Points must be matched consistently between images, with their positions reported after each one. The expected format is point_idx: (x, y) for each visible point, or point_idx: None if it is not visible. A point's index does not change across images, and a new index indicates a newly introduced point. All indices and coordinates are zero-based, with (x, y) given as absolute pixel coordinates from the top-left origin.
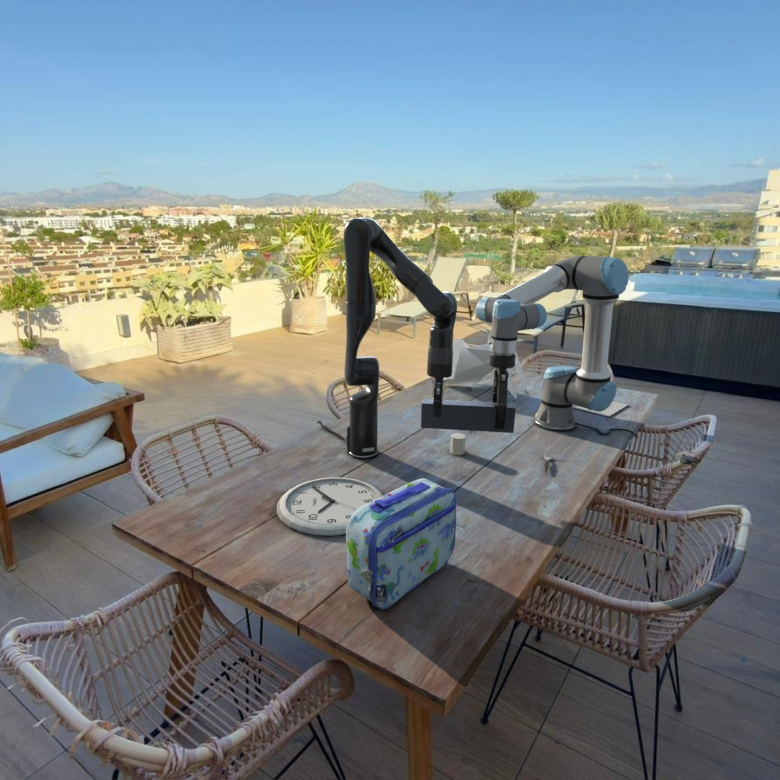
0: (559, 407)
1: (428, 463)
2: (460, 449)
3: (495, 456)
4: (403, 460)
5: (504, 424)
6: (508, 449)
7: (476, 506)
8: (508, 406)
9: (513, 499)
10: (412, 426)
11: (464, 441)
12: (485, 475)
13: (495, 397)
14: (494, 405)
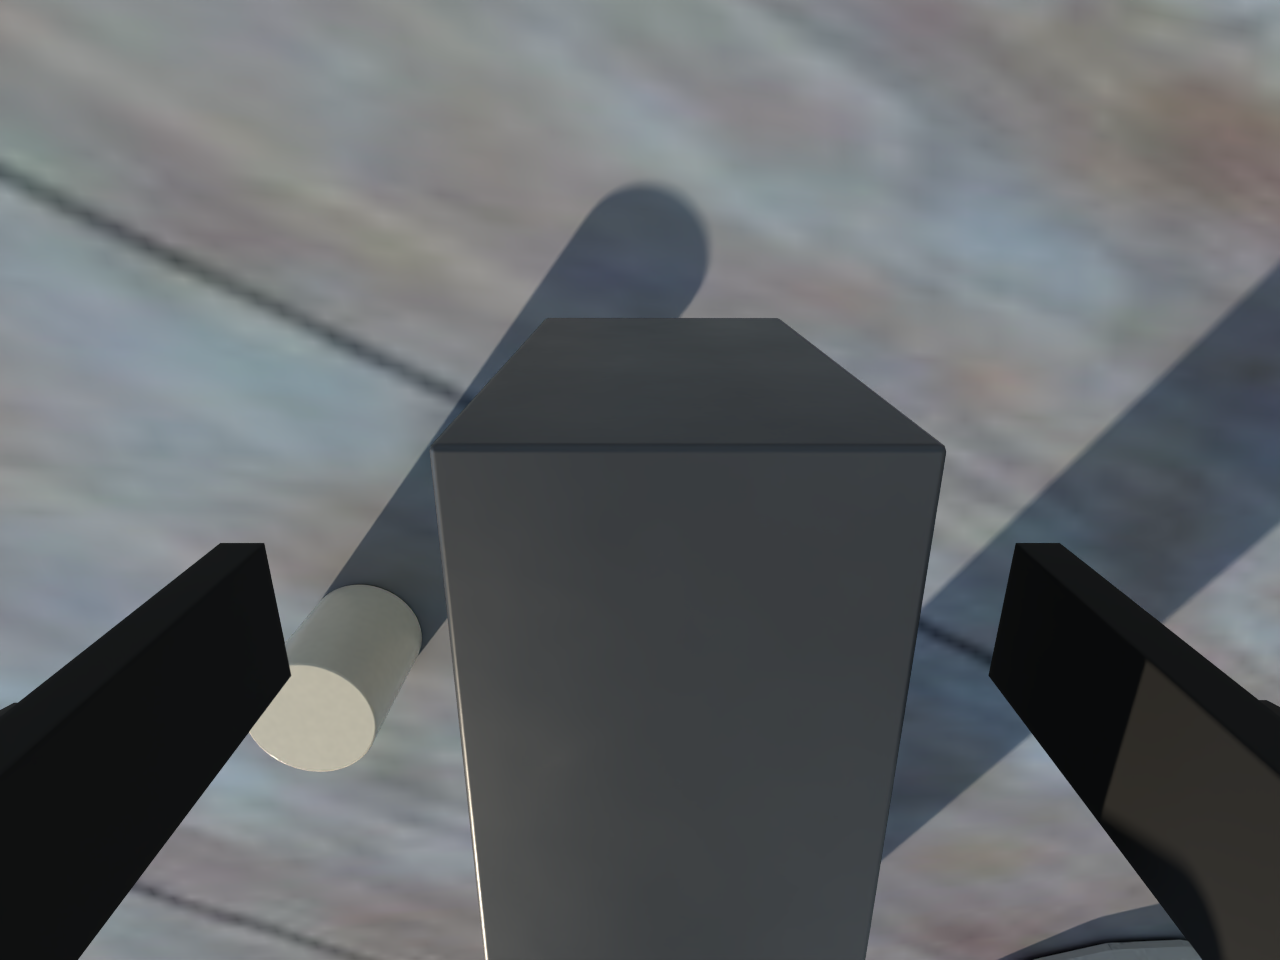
0: None
1: None
2: (400, 640)
3: (359, 353)
4: None
5: (1115, 588)
6: (163, 220)
7: (1180, 532)
8: (788, 645)
9: (1109, 277)
10: None
11: (350, 651)
12: None
13: (57, 901)
14: (738, 948)
